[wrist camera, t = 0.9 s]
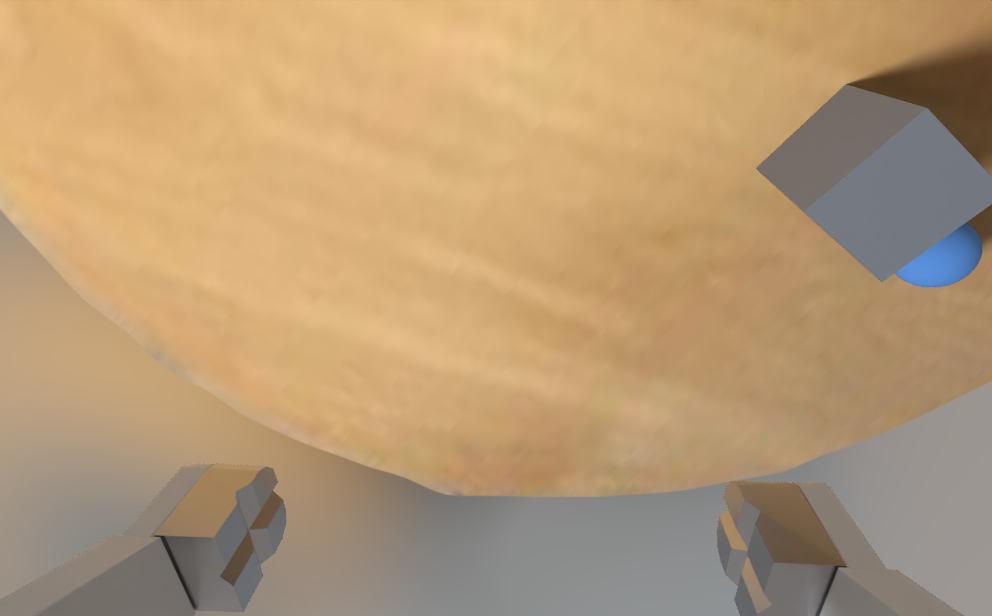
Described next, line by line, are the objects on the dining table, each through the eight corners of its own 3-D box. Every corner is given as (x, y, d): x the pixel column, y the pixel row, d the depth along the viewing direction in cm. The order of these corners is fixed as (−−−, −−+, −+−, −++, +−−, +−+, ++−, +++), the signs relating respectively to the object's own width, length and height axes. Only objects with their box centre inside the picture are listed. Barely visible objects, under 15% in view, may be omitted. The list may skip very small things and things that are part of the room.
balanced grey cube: (846, 84, 33) (927, 107, 25) (912, 152, 34) (1007, 193, 27) (756, 168, 36) (804, 211, 29) (820, 227, 38) (881, 282, 30)
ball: (924, 190, 36) (972, 215, 31) (966, 233, 37) (1018, 263, 32) (858, 241, 38) (894, 271, 34) (900, 279, 39) (940, 313, 35)
